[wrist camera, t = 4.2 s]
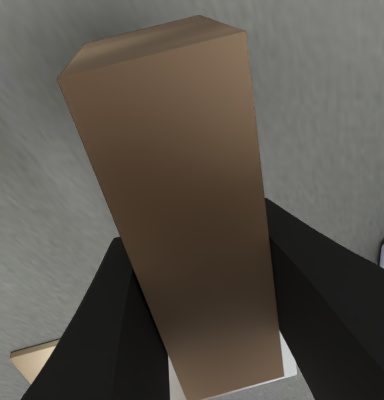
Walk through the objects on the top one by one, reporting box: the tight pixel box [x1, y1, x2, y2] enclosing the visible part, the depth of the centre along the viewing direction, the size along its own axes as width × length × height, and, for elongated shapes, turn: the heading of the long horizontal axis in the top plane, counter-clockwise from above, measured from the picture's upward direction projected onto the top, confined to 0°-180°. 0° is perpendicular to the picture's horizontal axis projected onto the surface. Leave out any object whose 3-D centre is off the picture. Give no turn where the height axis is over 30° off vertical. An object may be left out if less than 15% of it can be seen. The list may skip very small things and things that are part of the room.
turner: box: [57, 15, 297, 400], centre depth 9 cm, size 5×13×4 cm, turn 12°
